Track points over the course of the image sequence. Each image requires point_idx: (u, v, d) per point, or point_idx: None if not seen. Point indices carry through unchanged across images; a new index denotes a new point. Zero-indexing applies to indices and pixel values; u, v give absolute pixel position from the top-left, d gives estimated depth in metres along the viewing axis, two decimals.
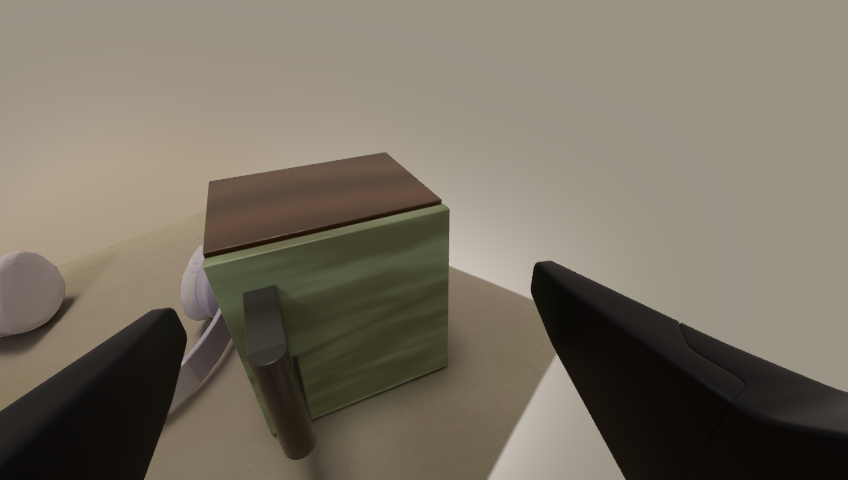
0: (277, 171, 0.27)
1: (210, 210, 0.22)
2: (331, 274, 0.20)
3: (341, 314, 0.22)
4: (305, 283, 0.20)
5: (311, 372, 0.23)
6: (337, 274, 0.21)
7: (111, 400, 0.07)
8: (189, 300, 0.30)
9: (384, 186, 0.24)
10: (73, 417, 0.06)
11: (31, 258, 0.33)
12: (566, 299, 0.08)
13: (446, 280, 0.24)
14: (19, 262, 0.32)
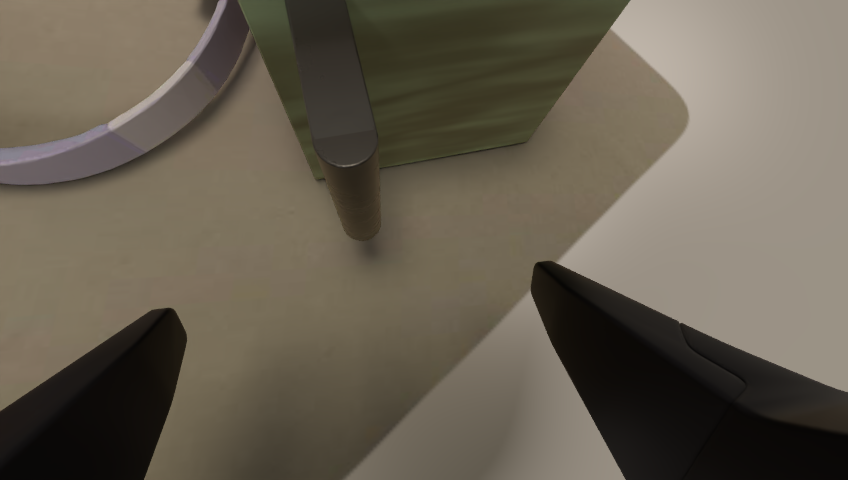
0: None
1: None
2: None
3: (432, 61, 0.14)
4: None
5: None
6: None
7: (111, 400, 0.07)
8: None
9: None
10: (73, 417, 0.06)
11: None
12: (566, 299, 0.08)
13: (602, 35, 0.15)
14: None
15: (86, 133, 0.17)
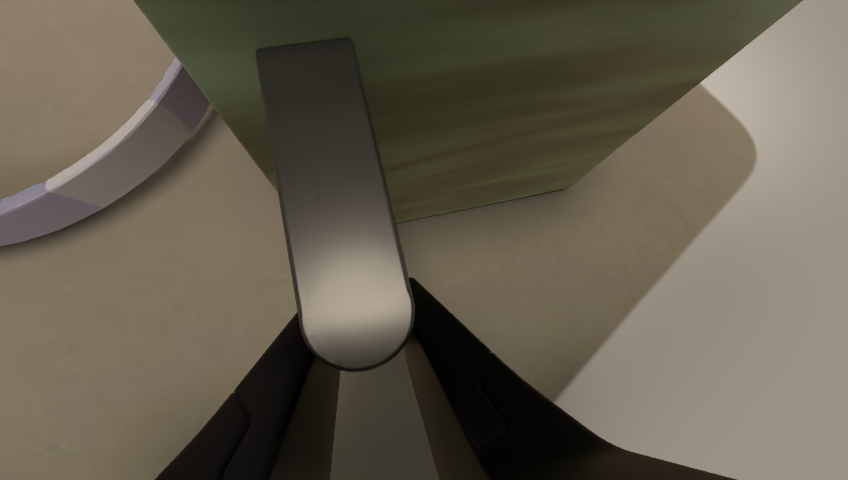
0: None
1: None
2: (504, 31, 0.07)
3: (473, 119, 0.10)
4: (430, 45, 0.07)
5: None
6: (517, 33, 0.07)
7: (321, 368, 0.07)
8: None
9: None
10: (310, 380, 0.06)
11: None
12: None
13: (700, 80, 0.11)
14: None
15: (17, 195, 0.14)
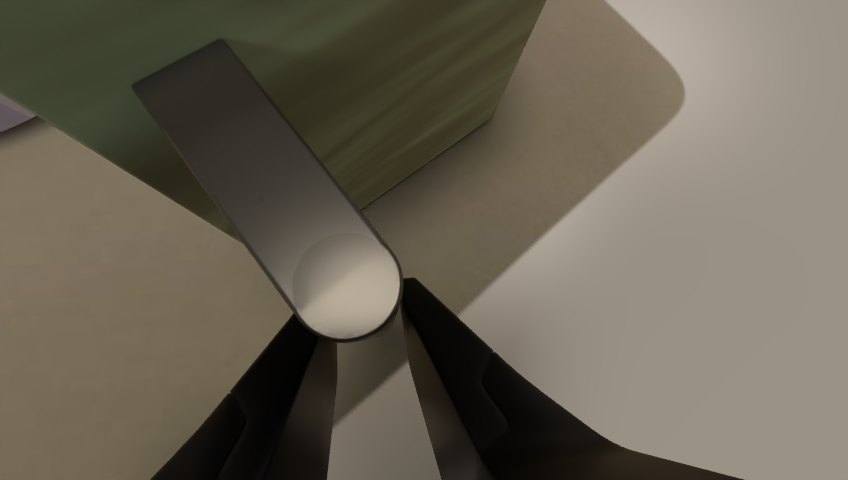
0: None
1: None
2: None
3: (377, 81, 0.10)
4: (302, 17, 0.07)
5: None
6: None
7: (317, 369, 0.07)
8: None
9: None
10: (306, 381, 0.06)
11: None
12: (408, 321, 0.08)
13: None
14: None
15: None
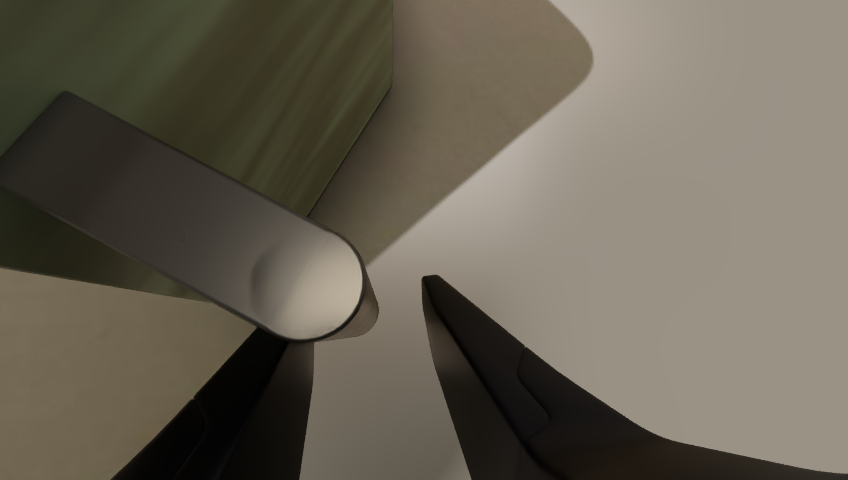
0: None
1: None
2: None
3: (259, 83, 0.09)
4: (147, 40, 0.06)
5: None
6: None
7: (288, 373, 0.07)
8: None
9: None
10: (273, 386, 0.06)
11: None
12: (435, 317, 0.08)
13: None
14: None
15: None
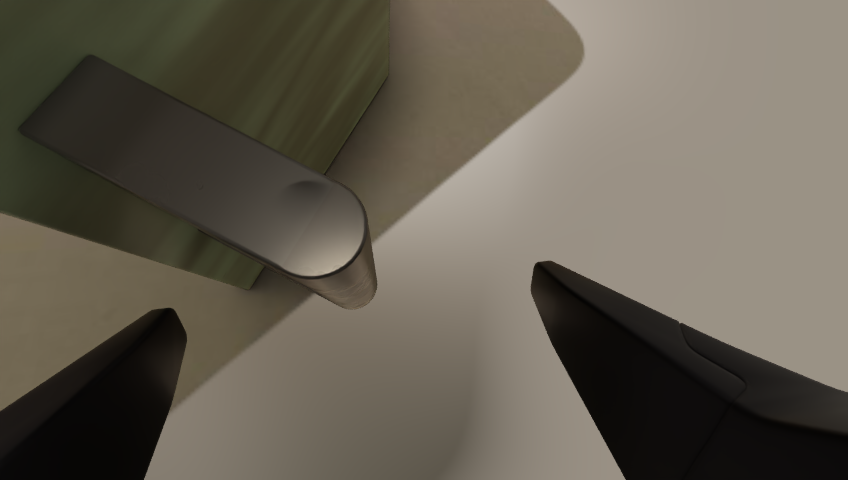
0: None
1: None
2: None
3: (263, 63, 0.10)
4: (163, 12, 0.07)
5: None
6: None
7: (111, 400, 0.07)
8: None
9: None
10: (73, 417, 0.06)
11: None
12: (566, 299, 0.08)
13: None
14: None
15: None
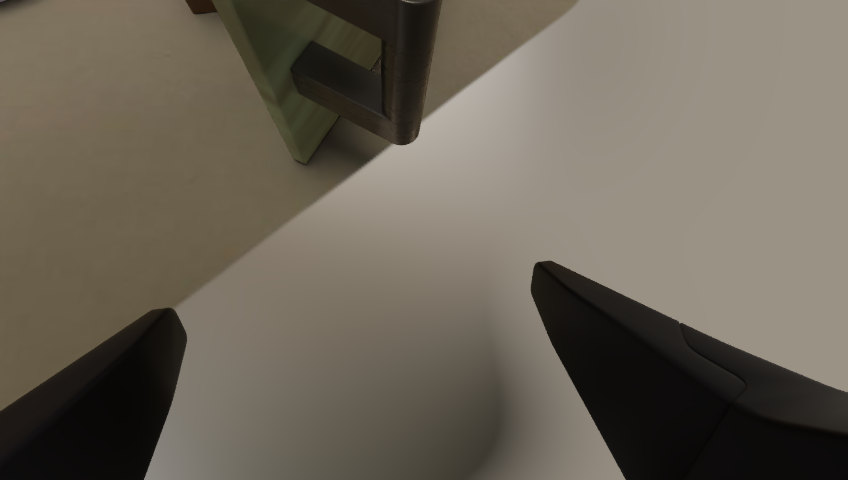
0: None
1: None
2: None
3: None
4: None
5: None
6: None
7: (111, 400, 0.07)
8: None
9: None
10: (73, 417, 0.06)
11: None
12: (566, 299, 0.08)
13: None
14: None
15: None
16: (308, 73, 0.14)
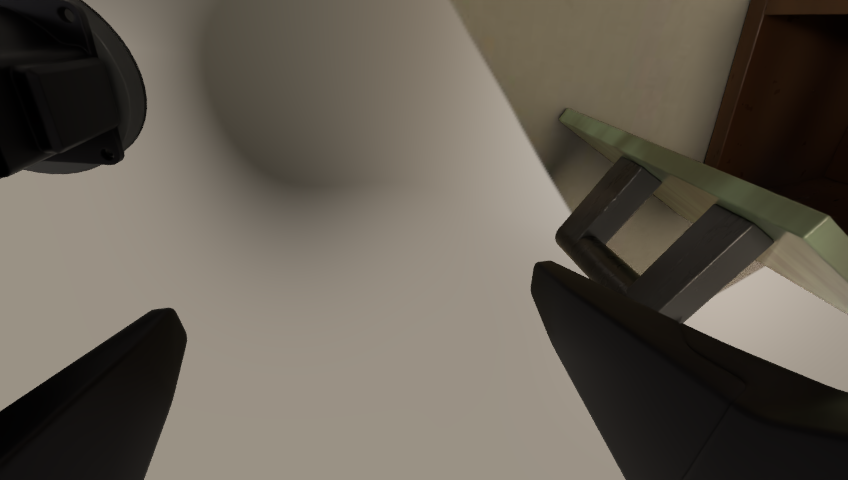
0: None
1: None
2: (800, 267, 0.14)
3: None
4: (781, 251, 0.14)
5: None
6: (800, 268, 0.14)
7: (111, 400, 0.07)
8: None
9: None
10: (73, 417, 0.06)
11: None
12: (566, 299, 0.08)
13: None
14: None
15: None
16: (633, 181, 0.17)
